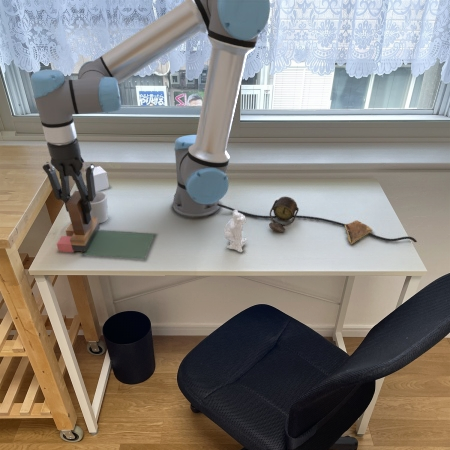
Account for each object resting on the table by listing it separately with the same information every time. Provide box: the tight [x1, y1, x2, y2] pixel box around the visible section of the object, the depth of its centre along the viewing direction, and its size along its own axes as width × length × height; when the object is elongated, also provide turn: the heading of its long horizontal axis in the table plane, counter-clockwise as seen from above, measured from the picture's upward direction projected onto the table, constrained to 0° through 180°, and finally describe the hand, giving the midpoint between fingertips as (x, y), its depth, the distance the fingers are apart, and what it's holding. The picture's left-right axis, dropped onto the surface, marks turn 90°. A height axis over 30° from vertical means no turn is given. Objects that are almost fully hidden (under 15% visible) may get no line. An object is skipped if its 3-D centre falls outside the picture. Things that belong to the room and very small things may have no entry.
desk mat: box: [82, 229, 156, 260], centre depth 129 cm, size 18×13×1 cm
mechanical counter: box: [268, 196, 300, 233], centre depth 137 cm, size 7×13×10 cm
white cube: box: [83, 165, 110, 192], centre depth 155 cm, size 6×6×6 cm
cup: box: [90, 191, 109, 225], centre depth 136 cm, size 11×8×8 cm
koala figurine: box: [223, 209, 248, 253], centre depth 125 cm, size 8×7×12 cm
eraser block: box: [56, 235, 75, 253], centre depth 127 cm, size 4×4×3 cm
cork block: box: [65, 223, 74, 237], centre depth 132 cm, size 4×4×3 cm
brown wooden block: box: [66, 190, 100, 252], centre depth 125 cm, size 12×4×14 cm, turn 174°
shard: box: [344, 220, 373, 245], centre depth 134 cm, size 11×8×2 cm
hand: (81, 221), depth 125 cm, fingers closed on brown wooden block, 3 cm apart
